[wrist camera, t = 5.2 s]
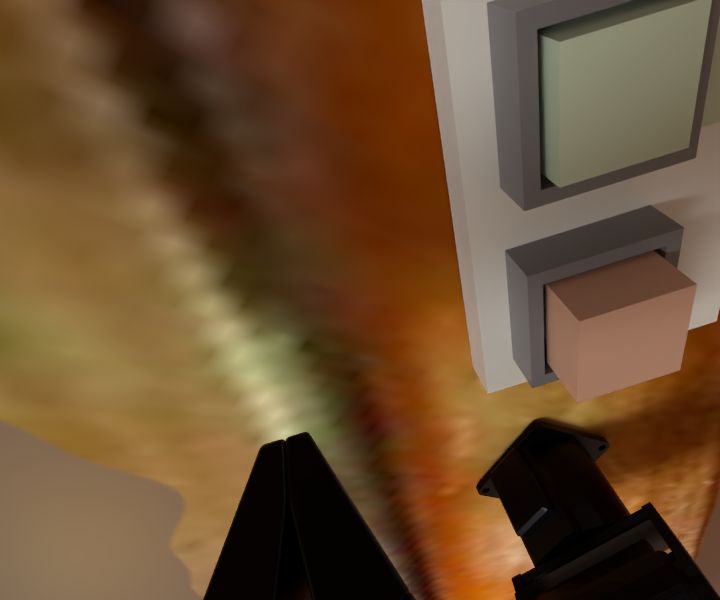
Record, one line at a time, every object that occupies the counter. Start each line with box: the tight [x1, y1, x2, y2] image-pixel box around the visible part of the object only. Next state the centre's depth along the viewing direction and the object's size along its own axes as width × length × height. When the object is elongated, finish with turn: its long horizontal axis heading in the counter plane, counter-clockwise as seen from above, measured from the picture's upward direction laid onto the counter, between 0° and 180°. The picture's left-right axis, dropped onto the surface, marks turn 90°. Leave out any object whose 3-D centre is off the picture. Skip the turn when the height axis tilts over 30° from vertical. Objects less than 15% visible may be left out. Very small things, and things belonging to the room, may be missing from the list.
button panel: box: [422, 0, 720, 394], centre depth 18 cm, size 28×12×4 cm, turn 13°
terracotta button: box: [545, 250, 697, 403], centre depth 21 cm, size 4×4×2 cm
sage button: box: [537, 0, 712, 188], centre depth 17 cm, size 4×4×2 cm
